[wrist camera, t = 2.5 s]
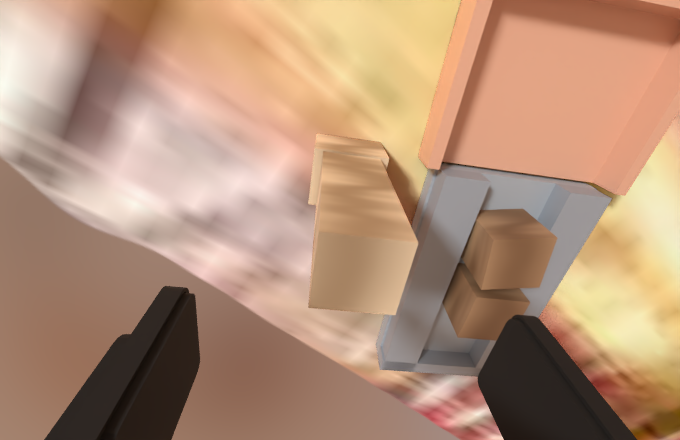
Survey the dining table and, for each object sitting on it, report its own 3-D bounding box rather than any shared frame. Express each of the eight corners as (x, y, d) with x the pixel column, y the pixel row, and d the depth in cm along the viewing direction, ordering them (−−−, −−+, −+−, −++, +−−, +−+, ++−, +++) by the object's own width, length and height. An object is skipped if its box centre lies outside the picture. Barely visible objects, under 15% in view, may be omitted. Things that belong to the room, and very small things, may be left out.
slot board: (585, 182, 24) (614, 198, 21) (489, 353, 33) (502, 378, 30) (430, 161, 22) (443, 175, 20) (375, 344, 31) (379, 369, 29)
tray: (700, 7, 18) (748, 2, 16) (598, 182, 24) (625, 195, 22) (472, -41, 17) (492, -53, 15) (417, 156, 22) (427, 168, 20)
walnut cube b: (523, 208, 23) (557, 237, 20) (510, 253, 25) (539, 287, 22) (468, 210, 23) (493, 240, 20) (459, 255, 25) (481, 289, 22)
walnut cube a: (503, 267, 26) (530, 302, 22) (484, 304, 28) (507, 341, 24) (456, 262, 25) (476, 297, 22) (441, 299, 27) (457, 337, 24)
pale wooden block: (380, 142, 22) (433, 241, 11) (370, 190, 23) (407, 318, 12) (316, 133, 21) (304, 227, 10) (311, 182, 23) (295, 308, 12)
